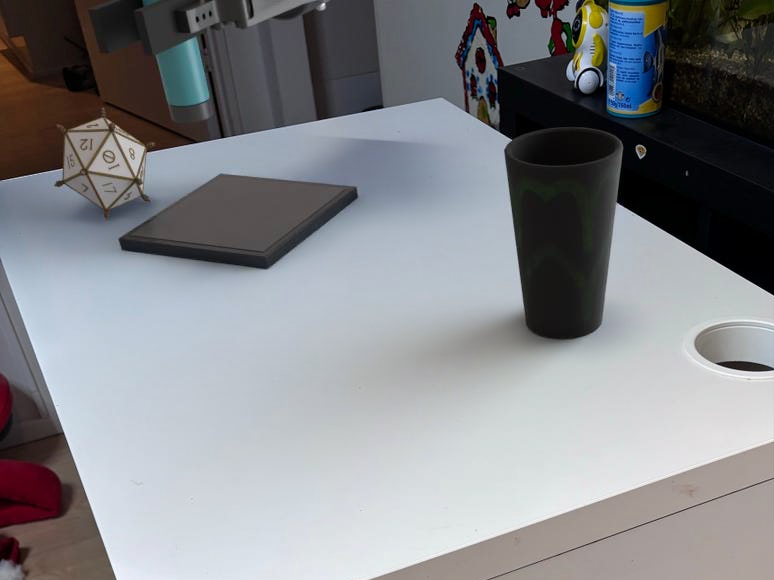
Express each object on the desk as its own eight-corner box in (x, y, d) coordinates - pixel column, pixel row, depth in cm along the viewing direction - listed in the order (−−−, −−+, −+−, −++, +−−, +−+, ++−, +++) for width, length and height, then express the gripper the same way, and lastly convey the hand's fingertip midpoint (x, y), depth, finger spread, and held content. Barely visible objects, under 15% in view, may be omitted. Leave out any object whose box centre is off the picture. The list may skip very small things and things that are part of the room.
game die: (128, 239, 100) (125, 132, 99) (174, 223, 94) (172, 109, 93) (37, 218, 93) (33, 104, 92) (81, 200, 88) (77, 77, 87)
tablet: (121, 249, 89) (117, 237, 88) (222, 183, 99) (220, 172, 98) (267, 268, 84) (265, 256, 83) (358, 197, 94) (356, 185, 94)
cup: (627, 302, 76) (635, 129, 67) (602, 351, 70) (607, 170, 62) (528, 292, 78) (523, 124, 69) (497, 339, 73) (487, 163, 64)
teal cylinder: (163, 121, 78) (115, -66, 70) (187, 109, 80) (144, -75, 72) (197, 124, 77) (153, -66, 69) (221, 111, 79) (181, -75, 71)
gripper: (386, 13, 85) (231, 99, 70) (225, 7, 91) (48, 85, 76) (375, -96, 80) (204, -29, 65) (204, -95, 86) (10, -34, 70)
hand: (121, 32), depth 70 cm, fingers closed on teal cylinder, 3 cm apart
